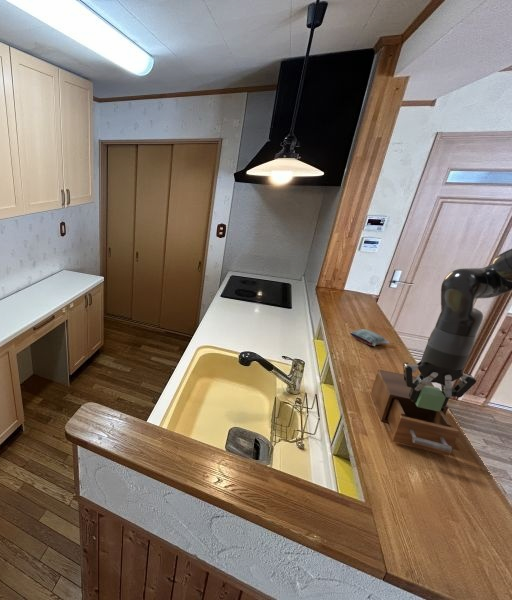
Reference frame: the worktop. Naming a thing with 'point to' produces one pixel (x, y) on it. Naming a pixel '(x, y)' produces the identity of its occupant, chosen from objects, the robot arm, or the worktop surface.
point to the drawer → (421, 427)
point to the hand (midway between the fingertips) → (425, 403)
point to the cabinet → (391, 391)
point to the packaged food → (369, 337)
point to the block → (430, 398)
